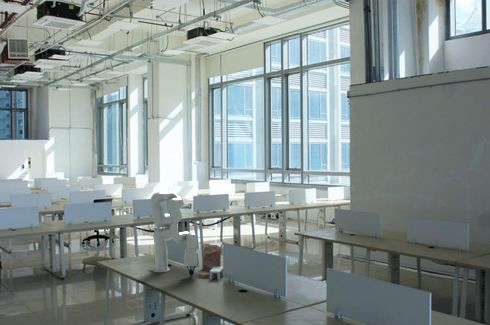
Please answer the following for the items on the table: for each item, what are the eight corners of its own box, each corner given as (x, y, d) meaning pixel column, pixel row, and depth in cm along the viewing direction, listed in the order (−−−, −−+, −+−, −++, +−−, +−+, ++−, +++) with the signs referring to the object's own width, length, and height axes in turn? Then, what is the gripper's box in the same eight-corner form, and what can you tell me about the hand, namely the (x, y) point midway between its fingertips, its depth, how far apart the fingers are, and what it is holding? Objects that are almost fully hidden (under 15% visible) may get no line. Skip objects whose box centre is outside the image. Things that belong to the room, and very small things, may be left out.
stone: (198, 270, 399) (198, 243, 398) (207, 267, 407) (207, 241, 406) (216, 273, 387) (216, 246, 387) (225, 270, 396) (225, 244, 395)
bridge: (209, 279, 371) (209, 271, 371) (214, 274, 385) (214, 266, 384) (219, 279, 370) (219, 271, 370) (223, 274, 384) (223, 266, 383)
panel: (198, 278, 377) (198, 274, 377) (201, 275, 385) (201, 271, 385) (217, 278, 375) (217, 274, 374) (219, 276, 382) (219, 271, 382)
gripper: (179, 250, 377) (180, 276, 378) (200, 251, 375) (200, 276, 375) (182, 248, 385) (182, 273, 385) (202, 249, 382) (202, 274, 383)
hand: (191, 275), depth 380 cm, fingers closed
